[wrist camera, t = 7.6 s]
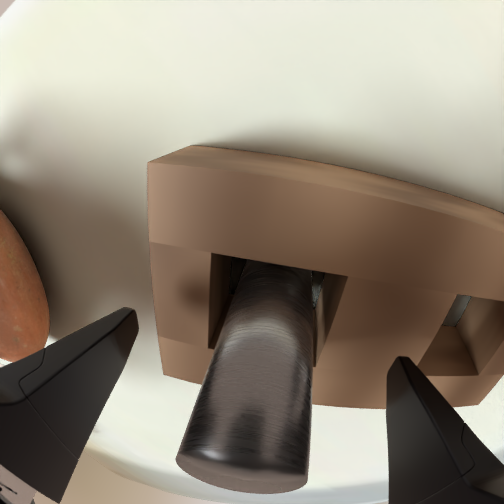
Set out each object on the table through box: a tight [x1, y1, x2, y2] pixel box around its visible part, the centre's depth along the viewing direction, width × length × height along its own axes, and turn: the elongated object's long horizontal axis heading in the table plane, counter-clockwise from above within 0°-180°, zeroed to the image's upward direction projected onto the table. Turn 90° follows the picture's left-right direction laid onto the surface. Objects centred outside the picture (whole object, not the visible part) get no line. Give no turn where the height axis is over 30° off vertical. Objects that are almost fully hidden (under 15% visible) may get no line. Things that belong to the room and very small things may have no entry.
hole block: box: [147, 145, 504, 409], centre depth 12 cm, size 18×10×4 cm, turn 84°
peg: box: [176, 259, 313, 494], centre depth 10 cm, size 3×3×10 cm
